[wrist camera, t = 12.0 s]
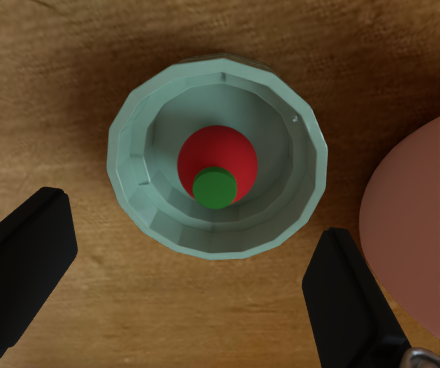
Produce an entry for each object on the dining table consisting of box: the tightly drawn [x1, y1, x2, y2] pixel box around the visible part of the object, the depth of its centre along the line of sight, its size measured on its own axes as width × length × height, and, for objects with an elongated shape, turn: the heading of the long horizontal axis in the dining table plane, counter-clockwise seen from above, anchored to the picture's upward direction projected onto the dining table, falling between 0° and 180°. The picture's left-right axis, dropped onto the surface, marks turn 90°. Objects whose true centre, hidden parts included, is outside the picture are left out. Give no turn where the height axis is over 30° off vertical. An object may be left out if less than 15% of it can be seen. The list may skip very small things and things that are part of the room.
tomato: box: [177, 125, 258, 209], centre depth 17 cm, size 5×5×5 cm
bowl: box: [106, 52, 328, 260], centre depth 18 cm, size 12×12×5 cm
